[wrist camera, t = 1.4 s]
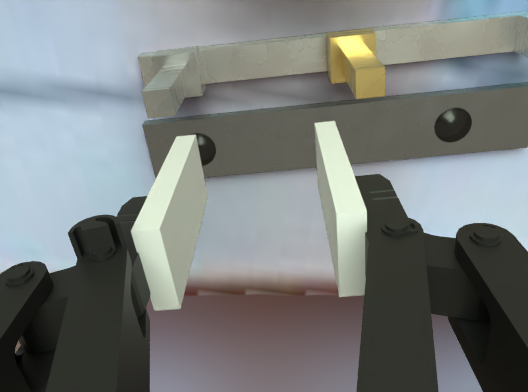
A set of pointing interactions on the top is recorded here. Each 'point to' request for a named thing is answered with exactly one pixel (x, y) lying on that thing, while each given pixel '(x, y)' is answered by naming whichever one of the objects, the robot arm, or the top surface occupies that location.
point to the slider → (356, 62)
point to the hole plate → (351, 130)
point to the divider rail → (319, 55)
